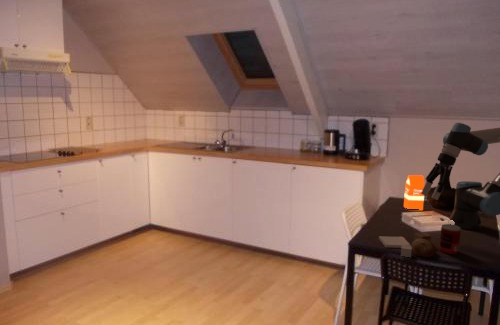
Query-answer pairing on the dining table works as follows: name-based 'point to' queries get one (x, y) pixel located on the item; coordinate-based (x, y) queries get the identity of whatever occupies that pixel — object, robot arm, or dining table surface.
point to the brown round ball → (422, 236)
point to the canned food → (450, 239)
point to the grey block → (406, 251)
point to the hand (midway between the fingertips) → (428, 196)
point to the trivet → (393, 241)
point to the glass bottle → (443, 197)
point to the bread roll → (423, 248)
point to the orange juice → (414, 192)
